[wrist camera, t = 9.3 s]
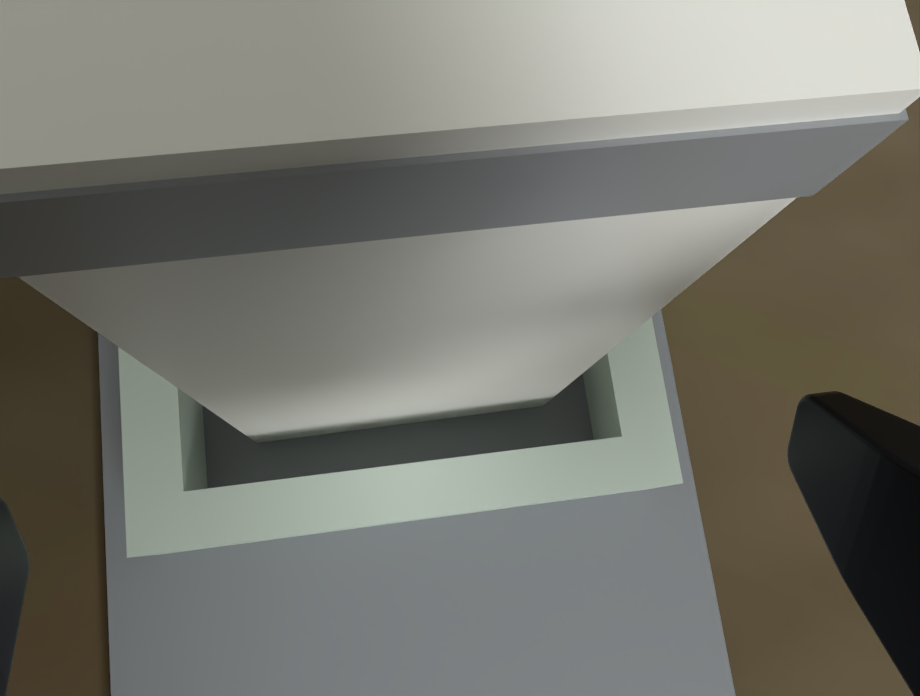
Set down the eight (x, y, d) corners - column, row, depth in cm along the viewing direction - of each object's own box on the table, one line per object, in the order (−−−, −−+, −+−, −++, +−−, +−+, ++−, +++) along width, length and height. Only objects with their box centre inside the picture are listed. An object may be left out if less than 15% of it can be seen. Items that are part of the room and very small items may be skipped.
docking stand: (752, 882, 16) (832, 959, 13) (140, 1002, 15) (79, 1117, 12) (602, 84, 20) (638, 8, 17) (105, 120, 19) (52, 44, 16)
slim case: (515, 227, 18) (786, -419, 6) (545, 407, 17) (937, 95, 5) (237, 256, 17) (-122, -413, 5) (254, 446, 16) (-134, 188, 4)
